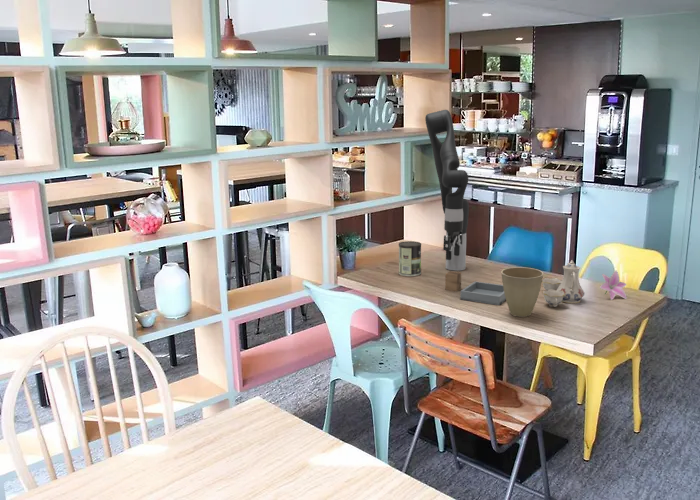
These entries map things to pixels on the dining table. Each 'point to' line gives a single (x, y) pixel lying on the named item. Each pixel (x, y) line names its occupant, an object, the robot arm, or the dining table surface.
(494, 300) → the grey tray
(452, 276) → the walnut block
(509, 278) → the plant pot
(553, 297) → the chinaware
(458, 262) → the robot arm
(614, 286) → the lily
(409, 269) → the coffee can
